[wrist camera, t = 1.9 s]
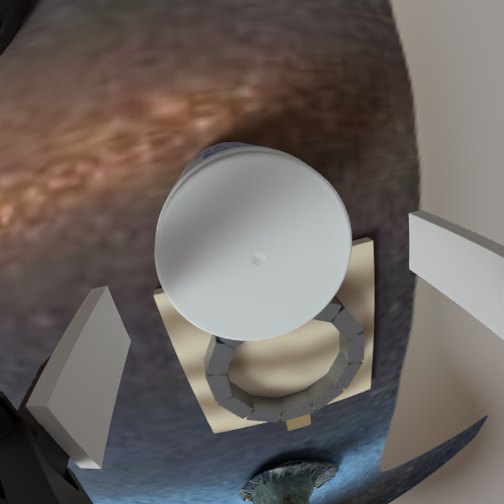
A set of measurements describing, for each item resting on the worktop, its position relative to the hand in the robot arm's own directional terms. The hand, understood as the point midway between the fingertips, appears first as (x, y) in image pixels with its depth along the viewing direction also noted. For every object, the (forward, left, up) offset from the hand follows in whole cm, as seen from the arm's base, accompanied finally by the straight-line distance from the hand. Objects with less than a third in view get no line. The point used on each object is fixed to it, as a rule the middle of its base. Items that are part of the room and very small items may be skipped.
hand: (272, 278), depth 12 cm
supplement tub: (0, 0, -17) cm, 17 cm away
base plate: (+18, +2, -16) cm, 24 cm away
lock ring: (+18, +2, -15) cm, 23 cm away
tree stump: (+51, -1, -17) cm, 53 cm away
